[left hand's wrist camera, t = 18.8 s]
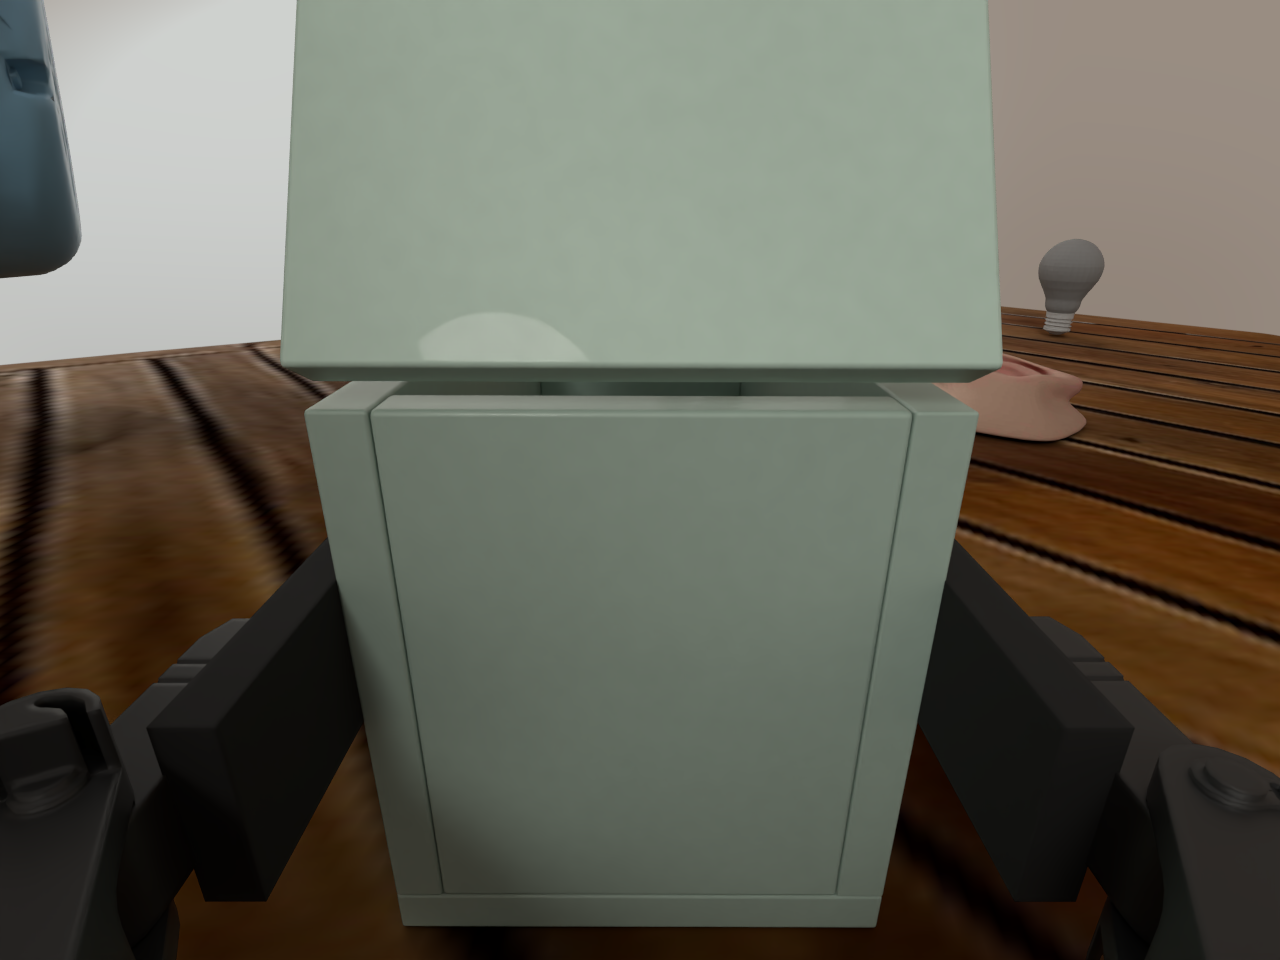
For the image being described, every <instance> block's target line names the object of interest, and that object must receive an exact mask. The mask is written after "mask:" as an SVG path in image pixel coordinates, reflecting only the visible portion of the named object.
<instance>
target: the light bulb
mask: <svg viewBox="0 0 1280 960" xmlns="http://www.w3.org/2000/svg"><path fill="white" fill-rule="evenodd" d="M1103 270H1104V258H1103V255H1102V253H1101V251H1100V250H1099V249H1098V247H1097V246H1096V245H1094V244H1093V243H1091V242H1089V241H1086V240H1082V239H1072V240H1067V241H1064V242H1061V243H1059V244H1057V245H1056V246H1054V247H1053V248H1052V249H1050V250H1049V251H1048V252H1047V253H1046V255H1045V256H1044V257H1043V259H1042V260H1041V262H1040V265H1039V280H1040V283H1041V286H1042V288H1043V291H1044V294H1045V297H1046V301H1045V307H1046V310H1047V312H1046V313H1047V314H1046V317H1047V318H1046V319H1045V320H1047V321H1046V322H1045V324H1046V325H1044V327H1043V329H1044V330H1046V331H1048V332H1049V333H1050V334H1057V335H1060V334H1064V333H1066V332H1069V331H1070V330H1071V329H1070V328H1069V327H1071V326H1070V323H1072V322H1071V319H1073V317H1074V314H1075V312H1076V311H1077V310H1078V308H1079V307H1080V304H1081V301H1082V299H1083V298H1084V297H1085V296H1086V294H1087V293H1088V292H1089V291H1090V290H1091V289H1092V288H1093V286H1094V285H1095V284H1096V283H1097V282H1098V281H1099V279H1100V277H1101V275H1102V273H1103Z"/></svg>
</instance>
